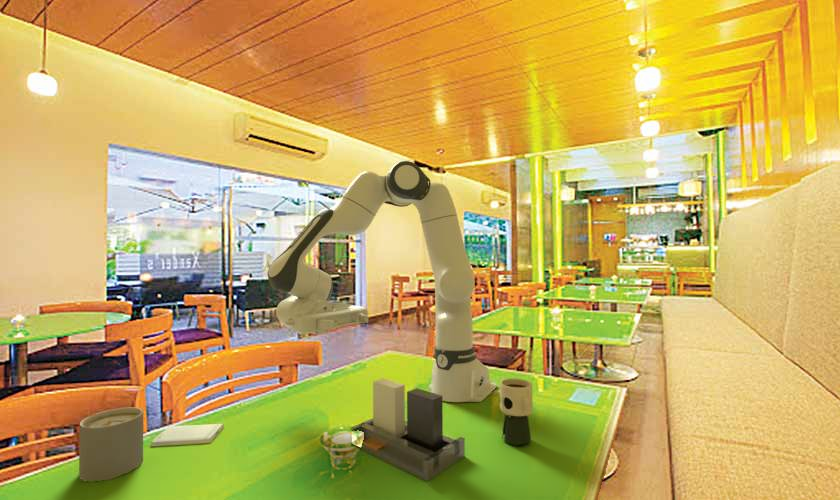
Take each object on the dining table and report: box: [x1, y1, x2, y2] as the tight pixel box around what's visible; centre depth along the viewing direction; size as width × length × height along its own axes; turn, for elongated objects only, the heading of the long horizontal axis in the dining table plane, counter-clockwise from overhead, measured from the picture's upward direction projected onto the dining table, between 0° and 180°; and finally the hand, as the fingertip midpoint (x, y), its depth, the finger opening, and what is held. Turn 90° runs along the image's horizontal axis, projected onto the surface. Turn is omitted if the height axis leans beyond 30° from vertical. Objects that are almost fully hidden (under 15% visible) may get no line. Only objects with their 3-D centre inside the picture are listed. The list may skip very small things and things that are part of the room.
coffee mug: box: [78, 406, 144, 482], centre depth 79 cm, size 13×10×10 cm
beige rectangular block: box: [372, 378, 406, 436], centre depth 88 cm, size 3×7×12 cm, turn 49°
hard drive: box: [150, 423, 225, 447], centre depth 91 cm, size 2×8×12 cm
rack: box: [350, 387, 466, 482], centre depth 84 cm, size 12×22×13 cm, turn 49°
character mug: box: [499, 377, 534, 446], centre depth 88 cm, size 11×7×13 cm, turn 14°
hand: (351, 322), depth 95 cm, fingers open, 8 cm apart
